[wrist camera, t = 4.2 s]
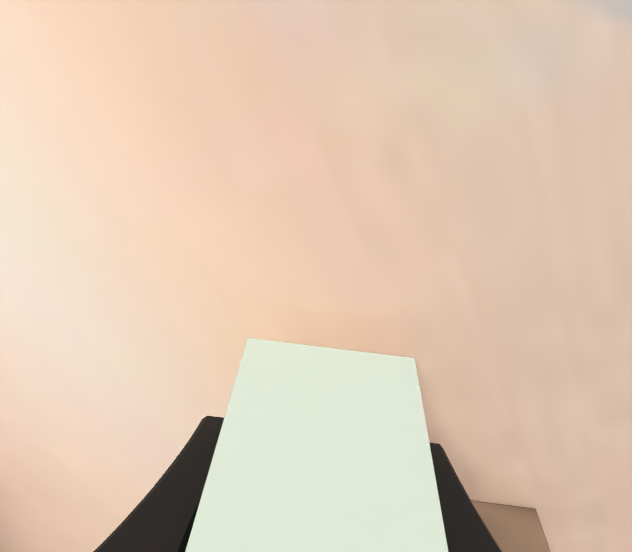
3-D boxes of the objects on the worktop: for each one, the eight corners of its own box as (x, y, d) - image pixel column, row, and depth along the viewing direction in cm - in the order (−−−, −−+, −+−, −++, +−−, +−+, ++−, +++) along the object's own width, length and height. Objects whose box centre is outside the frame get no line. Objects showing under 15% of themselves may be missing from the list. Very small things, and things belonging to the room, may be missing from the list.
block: (240, 458, 15) (179, 720, 9) (247, 337, 13) (176, 581, 8) (385, 475, 15) (406, 747, 9) (414, 358, 13) (459, 617, 8)
